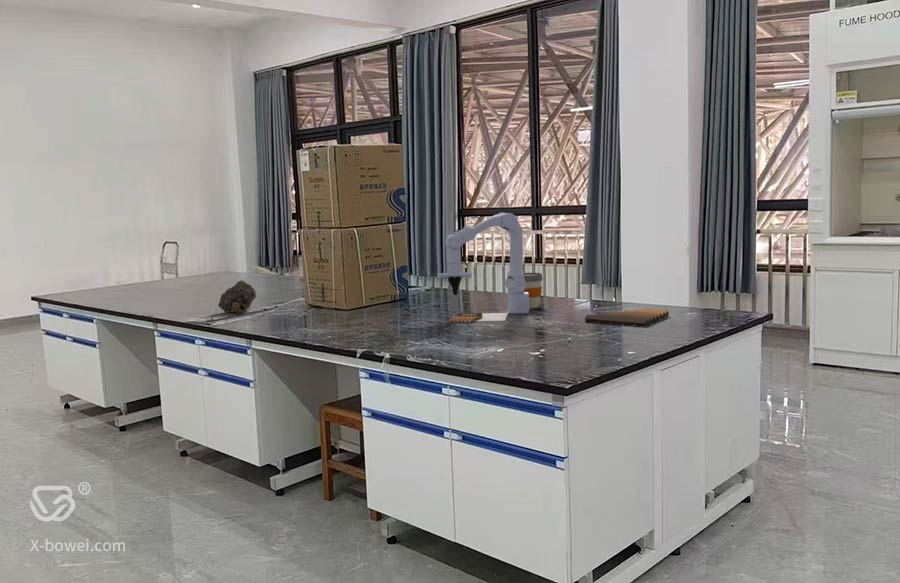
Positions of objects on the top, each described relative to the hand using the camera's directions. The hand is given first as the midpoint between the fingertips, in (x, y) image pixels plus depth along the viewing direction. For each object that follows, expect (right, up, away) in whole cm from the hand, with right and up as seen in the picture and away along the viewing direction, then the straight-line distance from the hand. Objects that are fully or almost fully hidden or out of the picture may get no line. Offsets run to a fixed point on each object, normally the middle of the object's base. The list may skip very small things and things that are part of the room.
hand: (455, 294), depth 316 cm
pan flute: (+69, -11, -18) cm, 72 cm away
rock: (-105, -9, +44) cm, 114 cm away
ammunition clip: (+7, -9, -1) cm, 11 cm away
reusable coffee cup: (+34, -6, +23) cm, 42 cm away
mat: (+16, -10, -1) cm, 18 cm away
